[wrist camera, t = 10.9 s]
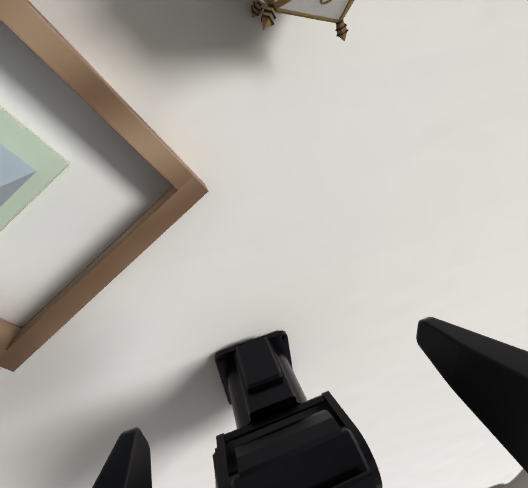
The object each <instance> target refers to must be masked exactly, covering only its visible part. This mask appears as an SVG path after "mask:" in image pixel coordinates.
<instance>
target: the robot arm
mask: <svg viewBox="0 0 528 488" xmlns="http://www.w3.org/2000/svg"><path fill="white" fill-rule="evenodd" d="M281 336H282V337H281ZM416 339H417V343H418V345H419V346H420V348H421V349H422V350H423V351H424V353H425V354H426V355H427V357H428V358H429V359H430V361H431V362H432V363H433V365H434V366H435V367H436V369H437V370H438V371H439V373H440V374H441V375H442V377H443V378H444V379H445V381H446V382H447V383H448V384H449V386H450V387H451V388H452V389H453V390H454V392H455V393H456V394H457V395H458V396H459V397H460V398H461V399H462V401H463V402H464V403H465V404H466V405H467V406H468V407H469V408H470V409H471V411H472V412H473V413H474V414H475V415H476V416H477V417H478V418H479V419H480V421H481V422H482V423H483V424H484V425H485V426H486V427H487V428H488V429H489V431H490V432H491V433H492V434H493V435H494V436H495V437H496V438H497V439H498V441H499V442H500V443H501V444H502V445H503V446H504V447H505V448H506V449H507V451H508V452H509V453H510V454H511V455H512V456H513V457H514V458H515V459H516V461H517V462H518V463H519V464H520V465H521V466H522V467H523V468H524V469H525V471H526V472H527V473H528V351H525V350H522V349H520V348H517V347H514V346H511V345H508V344H506V343H503V342H500V341H497V340H495V339H492V338H489V337H486V336H483V335H481V334H478V333H475V332H472V331H470V330H467V329H464V328H461V327H459V326H456V325H453V324H450V323H447V322H445V321H442V320H439V319H436V318H433V317H427V318H425V319H422V320H420V321H419V322H418V328H417V336H416ZM220 357H222V358H220ZM215 362H216V365H217V368H218V371H219V374H220V377H221V380H222V383H223V386H224V389H225V392H226V395H227V398H228V401H229V404H231V405H232V407H233V412H234V416H235V421H236V426H237V429H236V430H234V431H231V432H229V433H226V434H224V433H223V434H220V435H218V436H216V440H217V448H215V453H214V454H213V462H214V469H215V479H216V488H382V481H381V476H380V473H379V470H378V467H377V464H376V462H375V459H374V457H373V455H372V453H371V451H370V449H369V447H368V445H367V443H366V441H365V439H364V438H363V436H362V434H361V433H360V431H359V430H358V429H357V427H356V426H355V425H354V423H353V422H352V421H351V420H350V418H349V417H348V416H347V414H346V413H345V412H344V410H343V409H342V408H341V407H340V405H339V404H338V403H337V401H336V400H335V399H334V398H333V396H332V395H331V394H330V392H329V391H327V392H324V393H322V395H320V396H318V397H315V398H313V399H310V400H308V401H307V399H306V397H305V395H304V393H303V391H302V388H301V386H300V384H299V382H298V380H297V378H296V376H295V374H294V372H293V369H292V362H291V356H290V349H289V343H288V336H287V334H286V332H285V331H278V332H275V333H272V334H270V335H267V336H264V337H261V338H258V339H255V340H252V341H249V342H246V343H243V344H241V345H238V346H235V347H232V348H229V349H226V350H223V351H220V352H218V353H217V354H216V355H215ZM92 488H152V478H151V458H150V448H149V444H148V442H147V440H146V439H145V437H144V435H143V434H142V432H141V430H140V429H139V428H137V427H136V428H133V429H130V430H127V431H125V432H123V433H122V434H121V435H120V436H119V438H118V440H117V442H116V444H115V446H114V448H113V449H112V451H111V453H110V455H109V457H108V459H107V461H106V463H105V465H104V466H103V468H102V470H101V472H100V474H99V476H98V478H97V480H96V481H95V483H94V485H93V487H92Z"/></svg>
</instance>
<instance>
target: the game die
mask: <svg viewBox="0 0 528 488" xmlns="http://www.w3.org/2000/svg"><path fill="white" fill-rule="evenodd" d="M353 2H354V0H257V1H256V2H253V3H254V4H253V5H252V6H251V9H252V17H254V16H256V15H257V16H258V15H259V14H260V13H261V12H260V11H261V10H262V9H263V8H262V5H263V6H265V7H267V9H264V15H263V14H262V18H261V22H262V24H263V30H264V29H266V28H267V27H269V26H271V25H274V22H273V21H274V19H275V18H276V17H275V12H278V13H284V14H289V15H295V16H300V17H306V18H311V19H316V20H322V21H327V22H333V23H336V31H337V36H339V37H340V38H341V39H342V40H344V41H345V37H346V34H347V31H348V29H346V26H347V25H346V24H345V23H344V22H343V18H344V17H345V15H346V13H347V12H348V10H349V8H350V7H351V5H352V3H353Z"/></svg>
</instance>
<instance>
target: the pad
mask: <svg viewBox="0 0 528 488" xmlns="http://www.w3.org/2000/svg"><path fill="white" fill-rule="evenodd" d="M0 143H1V144H2V145H3V146H5V147H6V148H7V149H9V150H10V151H11V152H13V153H14V154H15V155H17V156H18V157H19V158H20V159H22V160H23V161H24V162H26V163H27V164H28V165H30V166H31V167H32V168H34V169H35V170H36V172H35V173H34V174H33V175H32V176H31V177H30V178H29V179H28V180H27V181H26V182H25V183H24V184H23V185H22V186H21V187H20V188H19V189H18V190H17V191H16V192H15V193H14V194H13V195H12V196H11V197H10V198H9V199H8V200H7V201H6V202H5V203H4V204H3V205H2V206H1V207H0V231H1V230H2V229H3V228H4V227H5V226H6V225H7V224H8V223H9V222H10V221H11V220H12V219H13V218H15V217H16V216H17V215H18V214H19V213H20V212H21V211H22V210H23V209H24V208H25V207H26V206H27V205H28V204H29V203H30V202H31V201H32V200H33V199H34V198H35V197H36V196H37V195H38V194H39V193H40V192H41V191H42V190H43V189H44V188H45V187H47V186H48V185H49V184H50V183H51V182H52V181H53V180H54V179H55V178H56V177H57V176H58V175H59V174H60V173H61V172H62V171H63V170H64V169H65V168H66V167H67V166H68V165H69V164H70V163H69V162H68V161H66V160H65V159H64V158H63V157H61V156H60V155H59V154H58V153H57V152H55V151H54V150H53V149H52V148H51V147H49V146H48V145H47V144H46V143H44V142H43V141H42V140H41V139H40V138H38V137H37V136H36V135H35V134H33V133H32V132H31V131H30V130H29V129H27V128H26V127H25V126H24V125H23V124H21V123H20V122H19V121H18V120H16V119H15V118H14V117H13V116H12V115H10V114H9V113H8V112H7V111H5V110H4V109H3V108H2V107H1V106H0Z"/></svg>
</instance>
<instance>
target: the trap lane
mask: <svg viewBox="0 0 528 488" xmlns="http://www.w3.org/2000/svg"><path fill="white" fill-rule="evenodd" d="M0 20H1V21H3V22H4V23H5V24H6V25H7V26H8V27H9V28H10V29H11V30H12V31H13V32H14V33H15V34H16V35H17V36H18V37H19V38H20V39H21V40H22V41H23V42H24V43H25V44H26V45H27V46H29V47H30V48H31V49H32V50H33V51H34V52H35V53H36V54H37V55H38V56H39V57H40V58H41V59H42V60H43V61H44V62H45V63H46V64H47V65H48V66H49V67H50V68H51V69H52V70H53V71H54V72H56V73H57V74H58V75H59V76H60V77H61V78H62V79H63V80H64V81H65V82H66V83H67V84H68V85H69V86H70V87H71V88H72V89H73V90H74V91H75V92H76V93H77V94H78V95H79V96H80V97H81V98H83V99H84V100H85V101H86V102H87V103H88V104H89V105H90V106H91V107H92V108H93V109H94V110H95V111H96V112H97V113H98V114H99V115H100V116H101V117H102V118H103V119H104V120H105V121H106V122H107V123H109V124H110V125H111V126H112V127H113V128H114V129H115V130H116V131H117V132H118V133H119V134H120V135H121V136H122V137H123V138H124V139H125V140H126V141H127V142H128V143H129V144H130V145H131V146H132V147H133V148H134V149H136V150H137V151H138V152H139V153H140V154H141V155H142V156H143V157H144V158H145V159H146V160H147V161H148V162H149V163H150V164H151V165H152V166H153V167H154V168H155V169H156V170H157V171H158V172H159V173H160V174H161V175H163V176H164V177H165V178H166V179H167V180H168V181H169V182H170V183H171V184H172V185H173V187H172V188H171V189H170V190H169V191H168V192H167V193H166V194H165V195H164V196H163V197H162V198H161V199H159V200H158V201H157V202H156V203H155V204H154V205H153V206H152V207H151V208H150V209H149V210H148V211H147V212H146V213H144V214H143V215H142V216H141V217H140V218H139V219H138V220H137V221H136V222H135V223H134V224H133V225H132V226H131V227H129V228H128V229H127V230H126V231H125V232H124V233H123V234H122V235H121V236H120V237H119V238H118V239H117V240H116V241H115V242H113V243H112V244H111V245H110V246H109V247H108V248H107V249H106V250H105V251H104V252H103V253H102V254H101V255H100V256H98V257H97V258H96V259H95V260H94V261H93V262H92V263H91V264H90V265H89V266H88V267H87V268H86V269H85V270H84V271H82V272H81V273H80V274H79V275H78V276H77V277H76V278H75V279H74V280H73V281H72V282H71V283H70V284H69V285H67V286H66V287H65V288H64V289H63V290H62V291H61V292H60V293H59V294H58V295H57V296H56V297H55V298H54V299H53V300H51V301H50V302H49V303H48V304H47V305H46V306H45V307H44V308H43V309H42V310H41V311H40V312H39V313H38V314H36V315H35V316H34V317H33V318H32V319H31V320H30V321H29V322H28V323H27V324H26V325H25V326H24V327H23V328H20V327H18V326H16V325H14V324H12V323H10V322H8V321H5V320H3V319H1V318H0V367H3V368H5V369H8V370H11V371H13V372H14V371H15V370H16V369H17V368H18V367H19V366H20V365H21V364H22V363H23V362H24V361H26V360H27V359H28V358H29V357H30V356H31V355H32V354H33V353H34V352H35V351H36V350H37V349H38V348H40V347H41V346H42V345H43V344H44V343H45V342H46V341H47V340H48V339H49V338H50V337H51V336H53V335H54V334H55V333H56V332H57V331H58V330H59V329H60V328H61V327H62V326H63V325H64V324H66V323H67V322H68V321H69V320H70V319H71V318H72V317H73V316H74V315H75V314H76V313H77V312H78V311H80V310H81V309H82V308H83V307H84V306H85V305H86V304H87V303H88V302H89V301H90V300H91V299H93V298H94V297H95V296H96V295H97V294H98V293H99V292H100V291H101V290H102V289H103V288H104V287H106V286H107V285H108V284H109V283H110V282H111V281H112V280H113V279H114V278H115V277H116V276H117V275H118V274H120V273H121V272H122V271H123V270H124V269H125V268H126V267H127V266H128V265H129V264H130V263H131V262H133V261H134V260H135V259H136V258H137V257H138V256H139V255H140V254H141V253H142V252H143V251H144V250H146V249H147V248H148V247H149V246H150V245H151V244H152V243H153V242H154V241H155V240H156V239H157V238H158V237H160V236H161V235H162V234H163V233H164V232H165V231H166V230H167V229H168V228H169V227H170V226H171V225H173V224H174V223H175V222H176V221H177V220H178V219H179V218H180V217H181V216H182V215H183V214H184V213H186V212H187V211H188V210H189V209H190V208H191V207H192V206H193V205H194V204H195V203H196V202H197V201H198V200H200V199H201V198H202V197H203V196H204V195H205V194H206V193H207V192H208V190H207V188H206V186H205V184H204V183H203V182H202V181H201V180H200V179H199V178H198V177H197V176H196V174H195V173H194V172H193V171H192V170H191V169H190V168H189V167H188V166H187V165H186V164H185V163H184V162H183V161H182V160H181V159H180V158H179V157H178V156H177V155H176V154H175V153H174V152H173V151H172V150H171V148H170V147H169V146H168V145H167V144H166V143H165V142H164V141H163V140H162V139H161V138H160V137H159V136H158V135H157V134H156V133H155V132H154V131H153V130H152V129H151V128H150V127H149V126H148V125H147V123H146V122H145V121H144V120H143V119H142V118H141V117H140V116H139V115H138V114H137V113H136V112H135V111H134V110H133V109H132V108H131V107H130V106H129V105H128V104H127V103H126V102H125V101H124V100H123V99H122V97H121V96H120V95H119V94H118V93H117V92H116V91H115V90H114V89H113V88H112V87H111V86H110V85H109V84H108V83H107V82H106V81H105V80H104V79H103V78H102V77H101V76H100V75H99V74H98V73H97V71H96V70H95V69H94V68H93V67H92V66H91V65H90V64H89V63H88V62H87V61H86V60H85V59H84V58H83V57H82V56H81V55H80V54H79V53H78V52H77V51H76V50H75V49H74V48H73V46H72V45H71V44H70V43H69V42H68V41H67V40H66V39H65V38H64V37H63V36H62V35H61V34H60V33H59V32H58V31H57V30H56V29H55V28H54V27H53V26H52V25H51V24H50V23H49V22H48V20H47V19H46V18H45V17H44V16H43V15H42V14H41V13H40V12H39V11H38V10H37V9H36V8H35V7H34V6H33V5H32V4H31V3H30V2H29V1H28V0H0Z"/></svg>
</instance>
